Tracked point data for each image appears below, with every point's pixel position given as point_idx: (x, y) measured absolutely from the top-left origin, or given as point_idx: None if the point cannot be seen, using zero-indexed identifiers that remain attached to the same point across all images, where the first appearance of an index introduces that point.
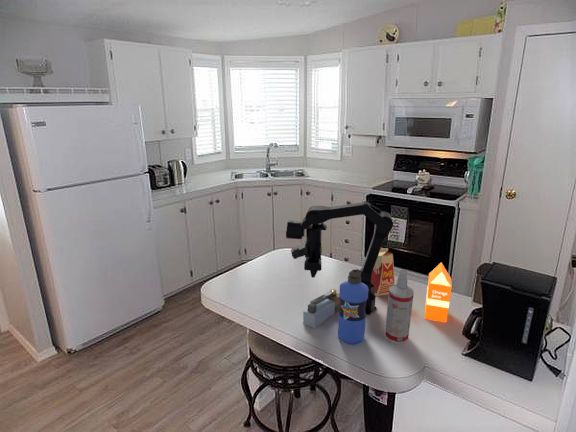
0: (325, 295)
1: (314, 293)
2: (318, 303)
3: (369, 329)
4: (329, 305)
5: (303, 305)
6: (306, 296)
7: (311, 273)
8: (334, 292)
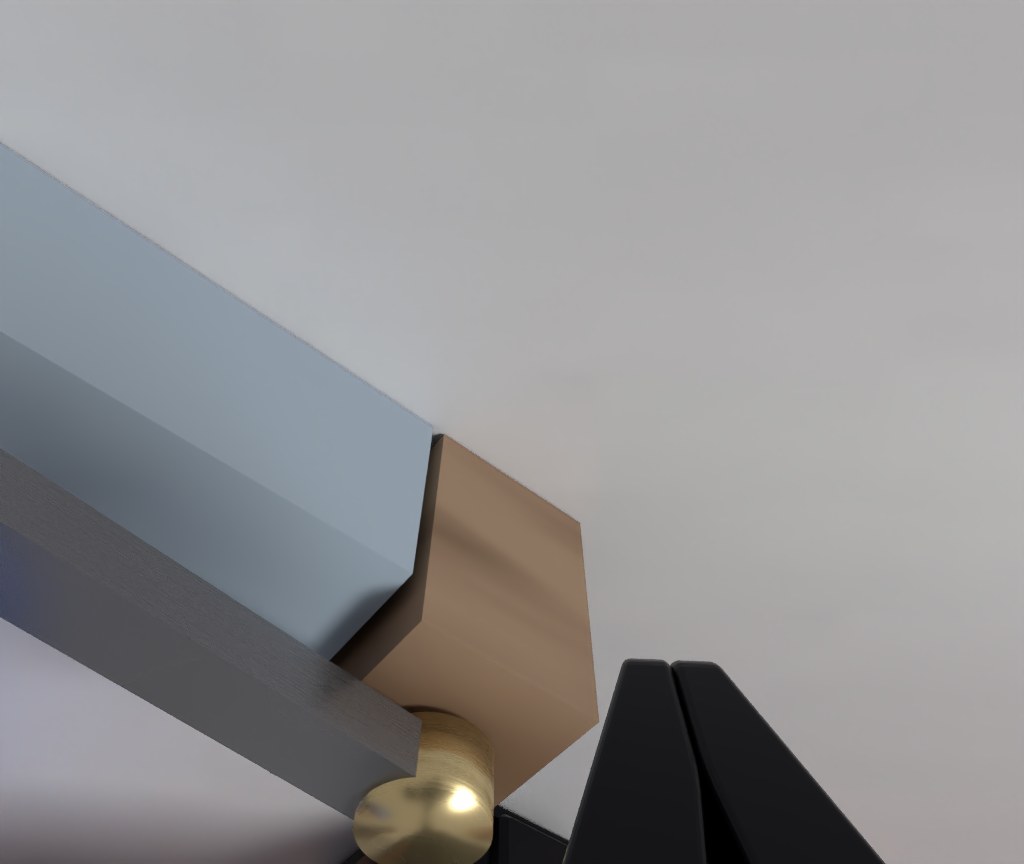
0: (186, 691)
1: (1002, 289)
2: (117, 458)
3: (30, 851)
4: None
5: (528, 46)
6: (910, 119)
7: (570, 848)
8: (356, 837)
